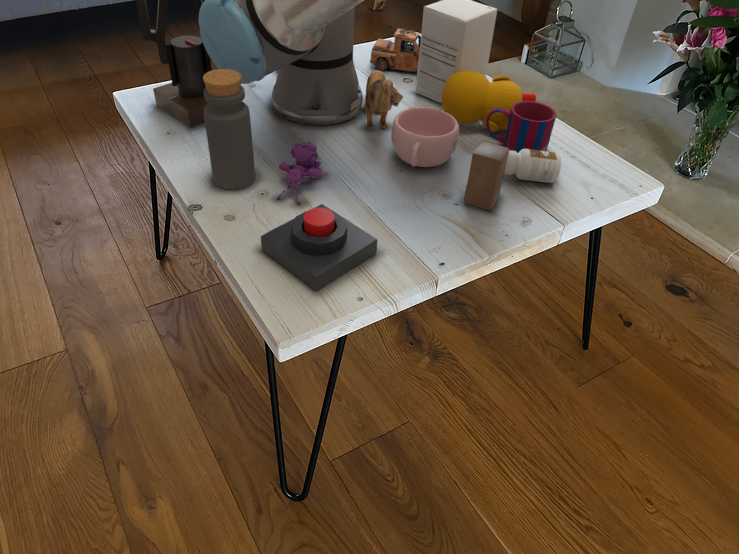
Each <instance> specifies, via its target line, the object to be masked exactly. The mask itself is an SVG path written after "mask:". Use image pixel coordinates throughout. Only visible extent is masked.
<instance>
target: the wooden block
mask: <svg viewBox="0 0 739 554" xmlns="http://www.w3.org/2000/svg"><path fill="white" fill-rule="evenodd" d="M508 155H509V148H506V147H503V145H499V144H495V143H491V142H488V141H483V140H482V141H481V142H480V143H479V144H478V146H477V147H476V149H475V150H474V151H473V153H472V155H471V161H470V166H469V171H468V176H467V182H466V187H465V193H464V199H463V202H464V204H466V205H470V206H473V207H475V208H479V209H483V210H486V211H492V209H493V208H494V206H495V204H496V202H497V201H498V199H499V197H500V193H501V189H502V186H503V181H504V176H505V174H504V172H505V168H506V164H507V159H508Z"/></svg>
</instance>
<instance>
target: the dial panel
mask: <svg viewBox="0 0 739 554" xmlns="http://www.w3.org/2000/svg"><path fill="white" fill-rule="evenodd" d="M177 85H178V84H177ZM152 91H153V95H154V96H153V97H154V100H155V106H156V107H158V108H160V109H161V110H162V111H163V112H166V113H167V114H169V115H170V116H172V117H173V118H175V119H176V120H178V121H180V122H181V123H182V124H184V125H186V126H187V127H189V128H191V129H192V128H195V127H197V126H200V125H203V124H205V120H204V108H205V106H206V105H207V104H209V103H208V102H207V101H206V100H205V98H204V95H203V96H200V97H186V96H183V95H181V94H180V93H179V90H178V86H173V85H172V82H168V83H166V84H163V85H160V86H157V87H154V88H152Z"/></svg>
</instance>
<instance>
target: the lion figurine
mask: <svg viewBox="0 0 739 554" xmlns="http://www.w3.org/2000/svg"><path fill="white" fill-rule="evenodd" d="M403 99H404V96H403V95H402V94H401V93H400V92H398V89H397V88H396V87H395V86H394V80H392V79H387V78H386V74H385V73H384V72H383V71H380V70H379V69H376V70H374V71H371V72H370V74H369V75H368V78H367V80H366V86H365V97H364V101H365V102H364V105H363V106H362V109H361V111H362V112H365V118H366V124H365V126H364V129H365V130H367V131H371V130H373V127H374V122H373V115H374V116H376V117H377V116H378V117H380V118H379V125H380V127H381V128H382V129H387V128H389V124H388V123H387V116H388V113H389V111H391V110H392V107H393V106H394V107H395V108H398V107H399V104H400V103H401V102H402V100H403Z"/></svg>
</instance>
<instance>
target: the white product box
mask: <svg viewBox="0 0 739 554" xmlns="http://www.w3.org/2000/svg"><path fill="white" fill-rule="evenodd" d="M497 15H498V8H496V7H493V6H490V5H486V4H484V3H480V2H477V1H475V0H440V1H437V2H433V3H430V4H427V5H424V6H423V12H422V22H421V32H420V36H421V41H420V51H419V61H418V71H417V72H416V84H415V91H414V92H415V93H416V94H419V95H420V96H423V97H425V98H427V99H429V100H432V101H435V102H437V103H439V104H441V105H442V101H441V99H442V91H443V88H444V85H445V83H446V81H447V80H448V79H449V77H450V76H452V75H453V74H455V73H457V72H460V71H466V70H470V71H476V72H479V73H481V74H483V75H484V76H485V77H486V78H487V72H488V67H489V66H488V65H489V61H490V54H491V49H492V43H493V37H494V32H495V26H496V20H497Z"/></svg>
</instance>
